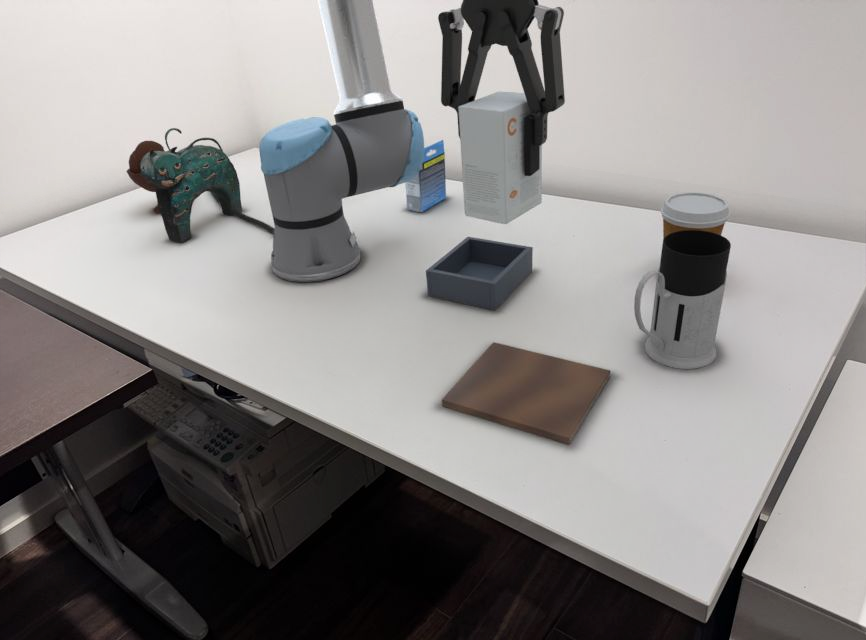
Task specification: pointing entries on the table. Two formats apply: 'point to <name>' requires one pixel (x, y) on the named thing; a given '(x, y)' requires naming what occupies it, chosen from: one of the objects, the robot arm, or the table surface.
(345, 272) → the robot arm
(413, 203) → the label tape box
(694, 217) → the disposable coffee cup
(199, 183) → the ceramic cat
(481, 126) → the small box
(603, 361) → the table surface
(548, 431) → the board
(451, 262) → the bin
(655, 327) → the glass holder
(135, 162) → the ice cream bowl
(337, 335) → the table surface
